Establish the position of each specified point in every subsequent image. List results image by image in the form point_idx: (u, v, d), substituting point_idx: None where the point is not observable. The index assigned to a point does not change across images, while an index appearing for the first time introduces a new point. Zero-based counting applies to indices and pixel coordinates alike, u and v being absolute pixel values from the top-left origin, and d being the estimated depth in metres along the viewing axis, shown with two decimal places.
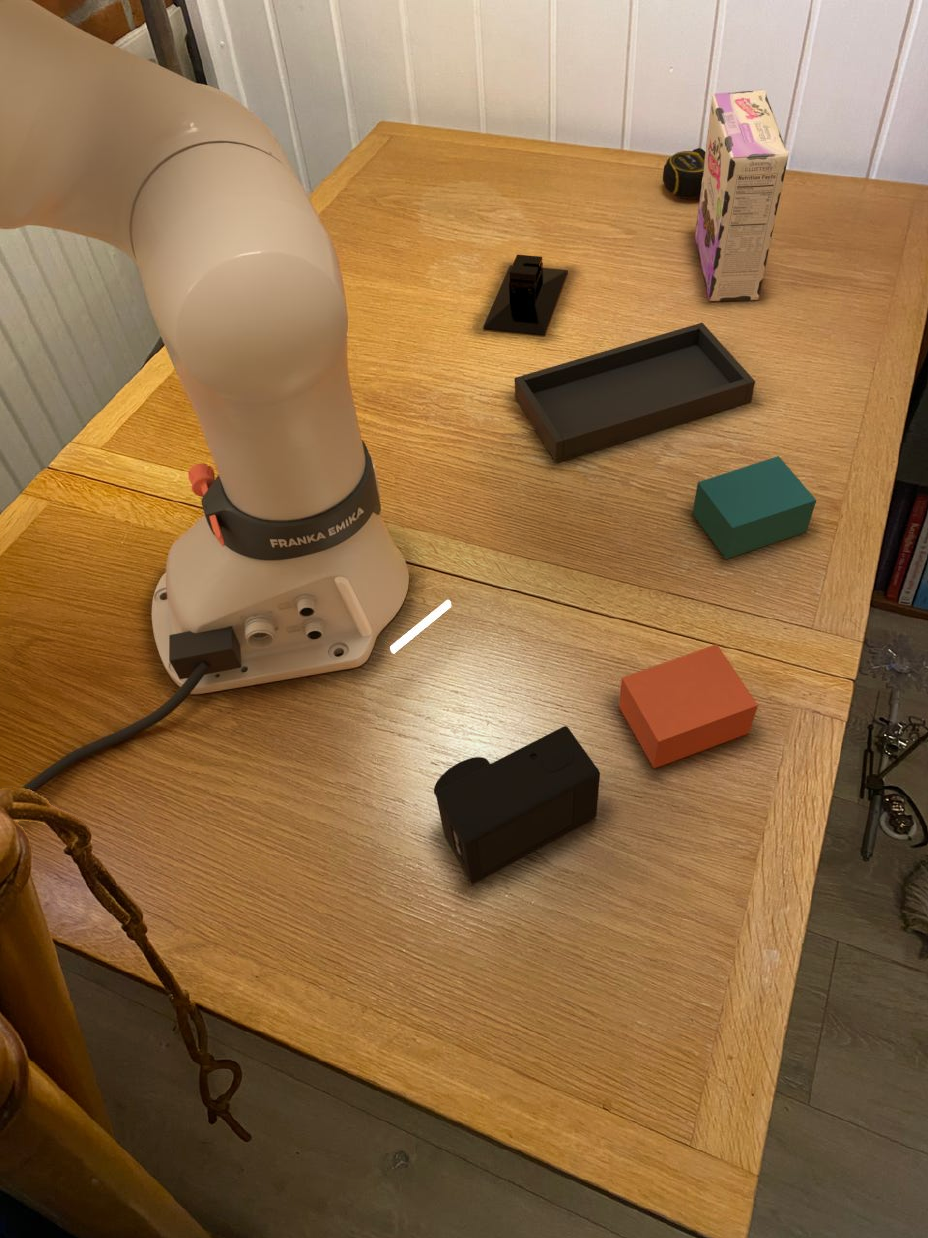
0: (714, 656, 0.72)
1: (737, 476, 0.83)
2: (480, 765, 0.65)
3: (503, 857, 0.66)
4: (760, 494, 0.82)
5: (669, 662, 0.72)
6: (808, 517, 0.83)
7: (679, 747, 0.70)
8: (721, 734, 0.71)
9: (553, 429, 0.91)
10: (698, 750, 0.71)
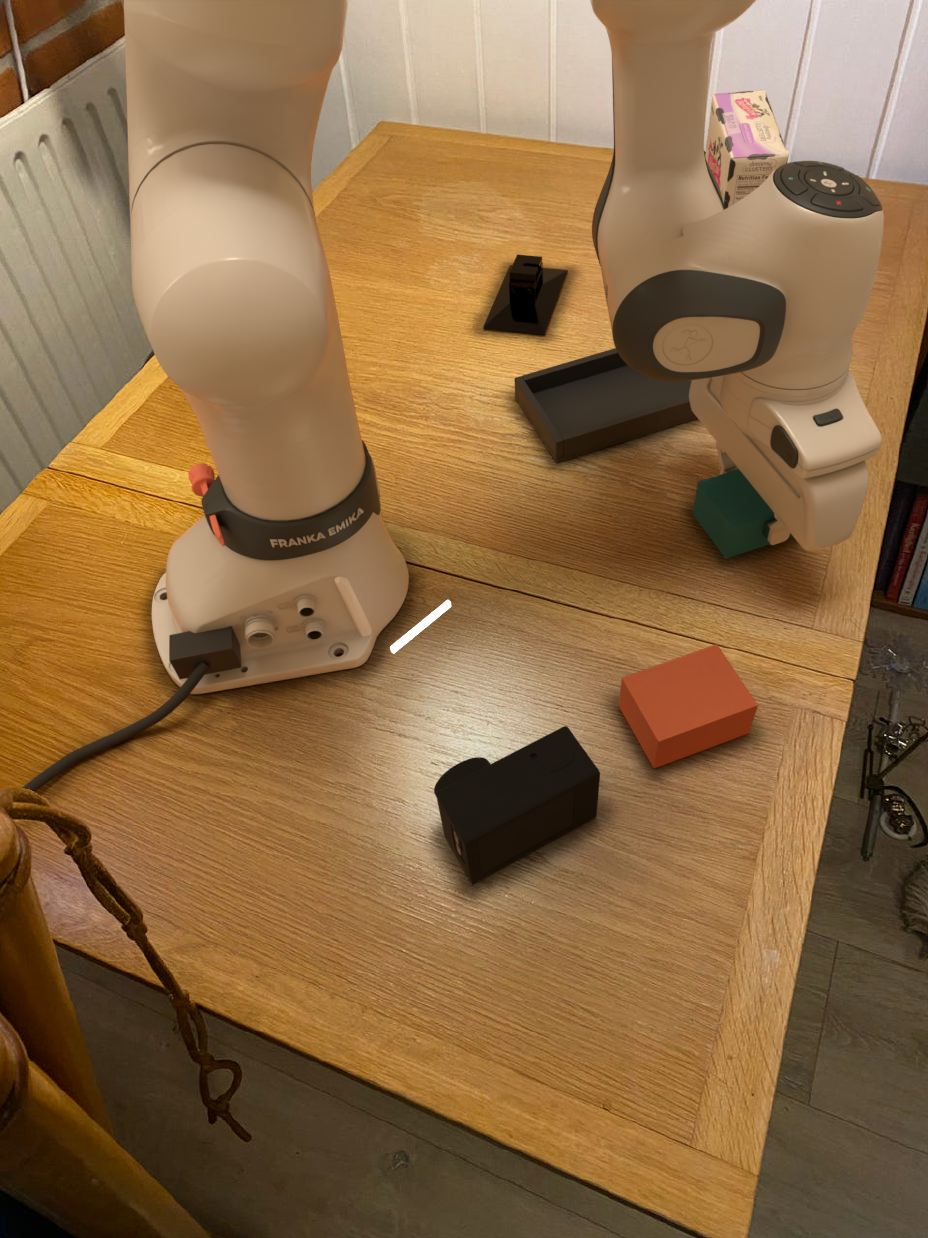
0: (714, 656, 0.72)
1: (737, 476, 0.83)
2: (480, 765, 0.65)
3: (503, 857, 0.66)
4: None
5: (669, 662, 0.72)
6: None
7: (679, 747, 0.70)
8: (721, 734, 0.71)
9: (553, 429, 0.91)
10: (698, 750, 0.71)
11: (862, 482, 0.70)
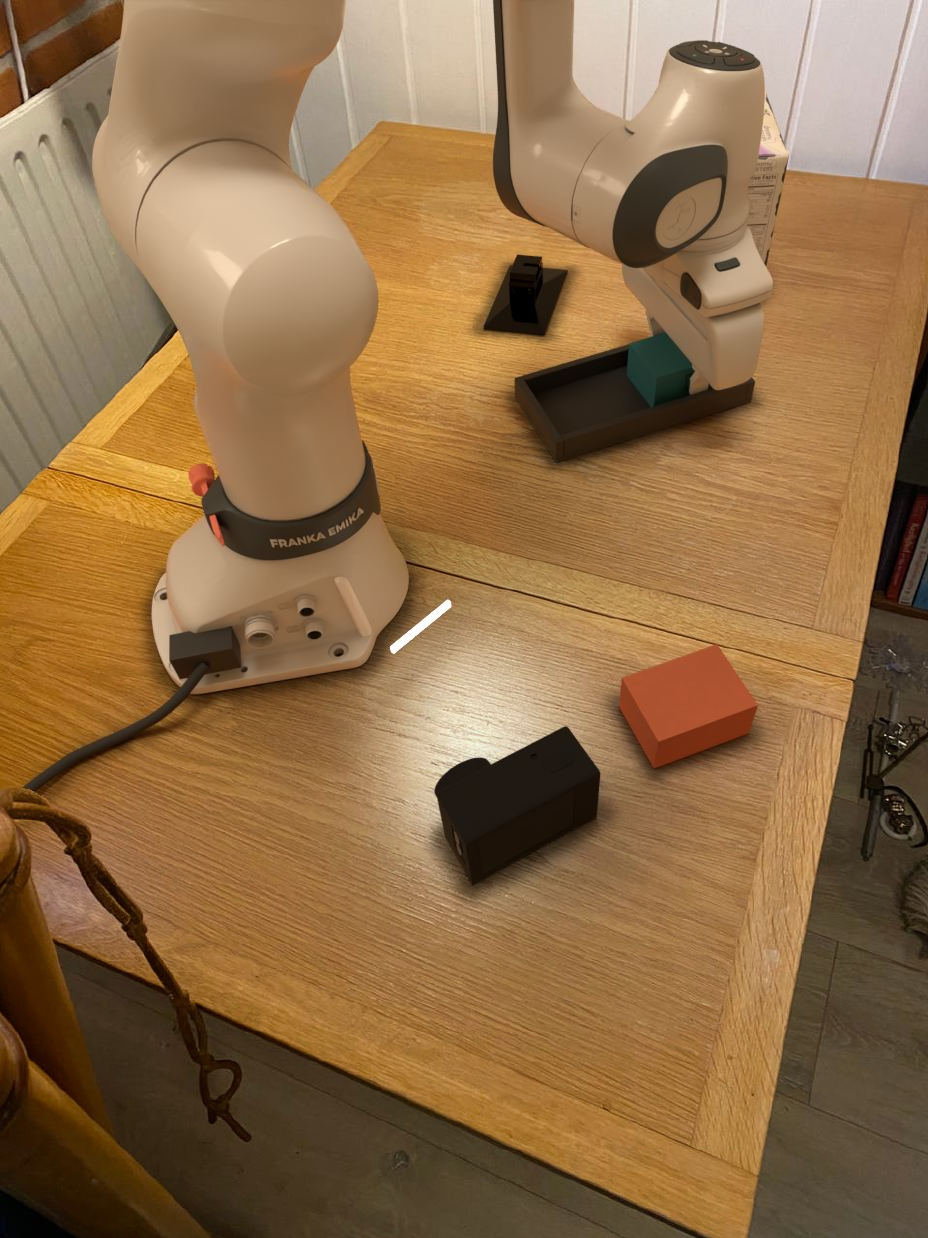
0: (714, 656, 0.72)
1: (664, 338, 0.95)
2: (480, 765, 0.65)
3: (503, 857, 0.66)
4: None
5: (669, 662, 0.72)
6: None
7: (679, 747, 0.70)
8: (721, 734, 0.71)
9: (553, 429, 0.91)
10: (698, 750, 0.71)
11: (758, 322, 0.82)
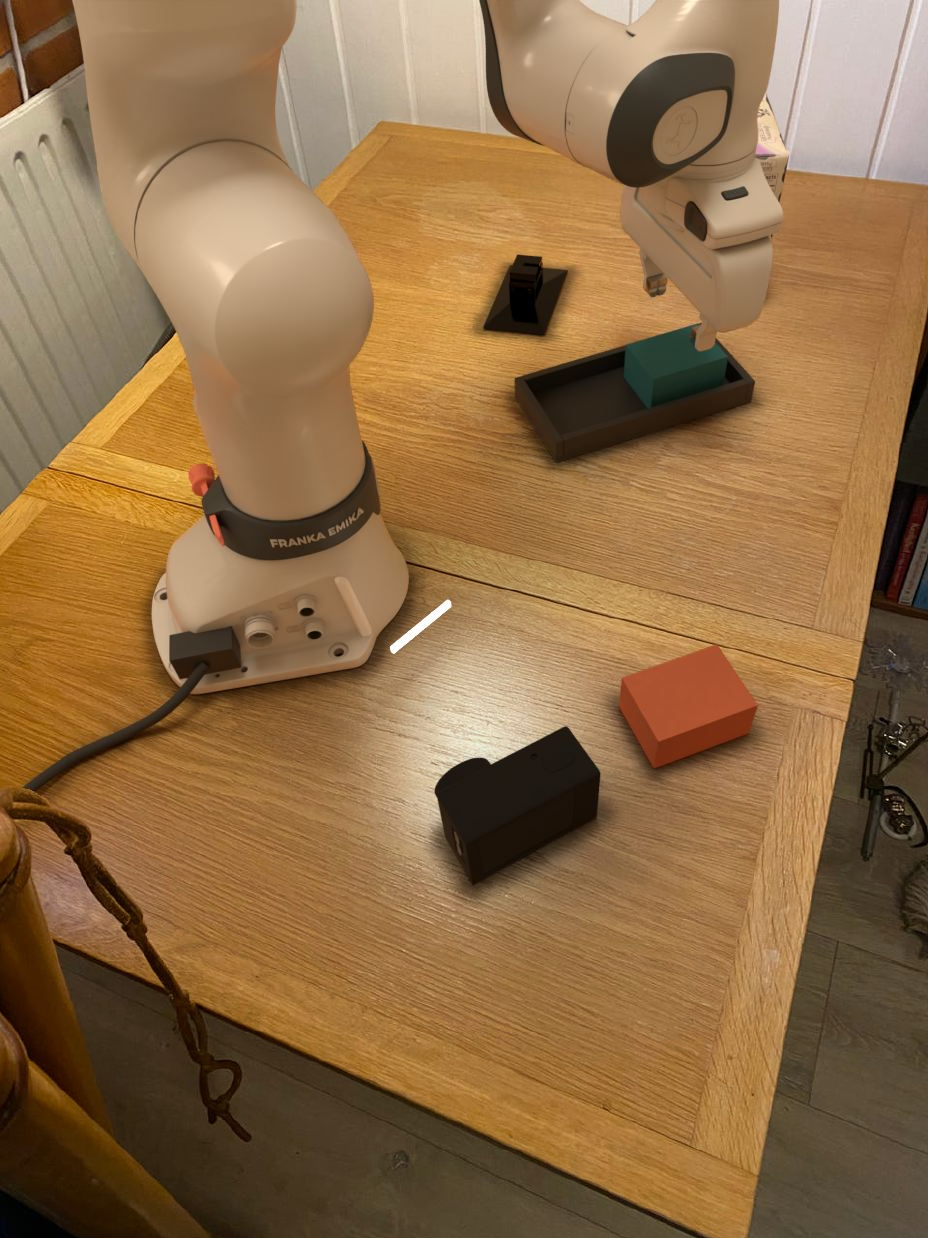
0: (714, 656, 0.72)
1: (660, 339, 0.95)
2: (481, 765, 0.65)
3: (503, 857, 0.66)
4: (679, 353, 0.93)
5: (669, 662, 0.72)
6: (722, 374, 0.94)
7: (679, 747, 0.70)
8: (721, 734, 0.71)
9: (553, 429, 0.91)
10: (698, 750, 0.71)
11: (767, 257, 0.77)
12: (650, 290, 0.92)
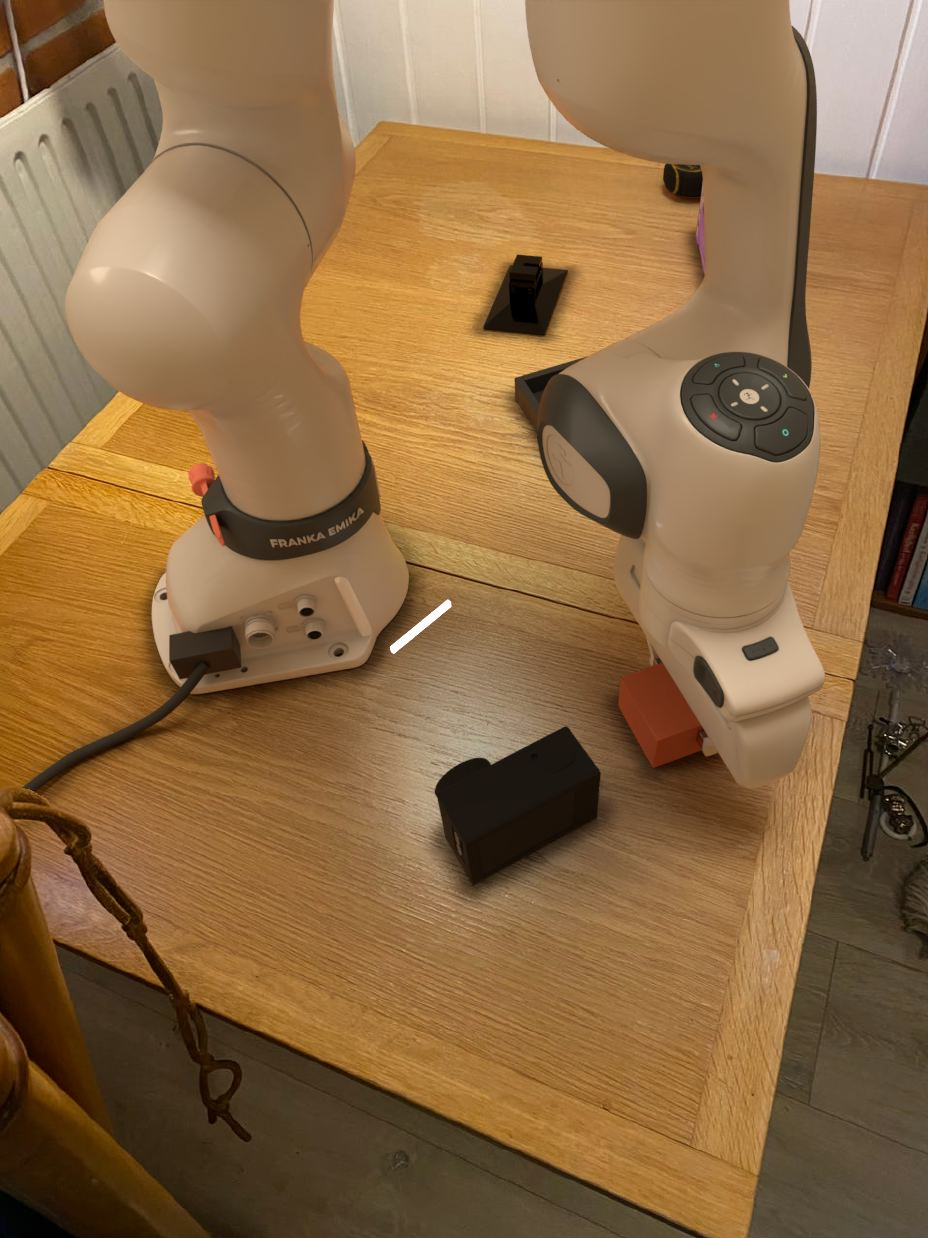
0: None
1: None
2: (481, 766, 0.65)
3: (504, 857, 0.66)
4: None
5: None
6: None
7: (678, 747, 0.70)
8: None
9: None
10: (697, 750, 0.71)
11: (803, 721, 0.58)
12: None
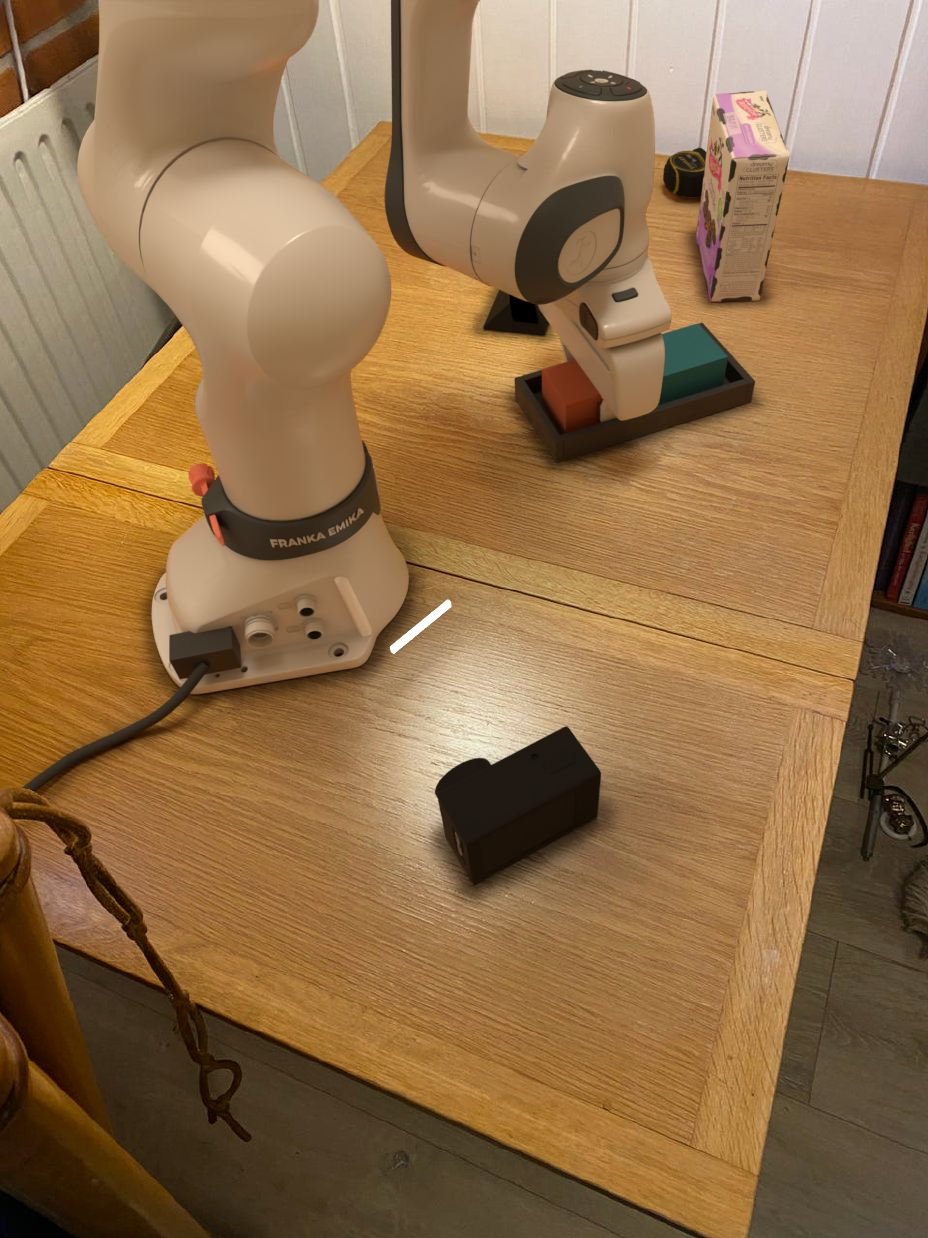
0: None
1: None
2: (481, 766, 0.65)
3: (504, 858, 0.66)
4: (679, 353, 0.93)
5: None
6: (722, 374, 0.94)
7: (583, 416, 0.92)
8: None
9: (553, 429, 0.91)
10: None
11: (658, 353, 0.80)
12: None
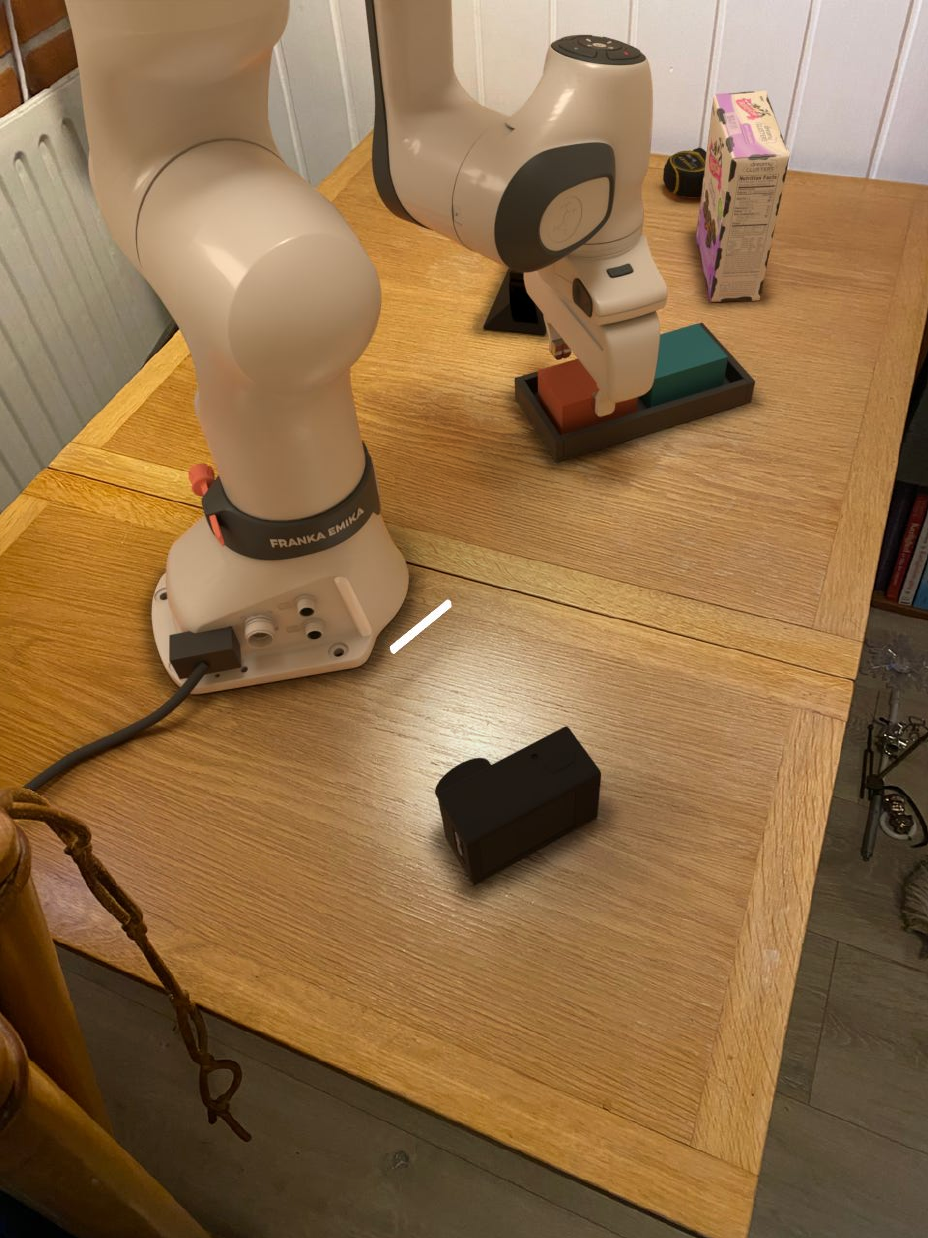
0: None
1: (660, 339, 0.95)
2: (481, 766, 0.65)
3: (504, 858, 0.66)
4: (679, 353, 0.93)
5: (574, 359, 0.94)
6: (722, 374, 0.94)
7: (580, 417, 0.92)
8: None
9: (553, 429, 0.91)
10: None
11: (654, 332, 0.78)
12: (555, 353, 0.93)
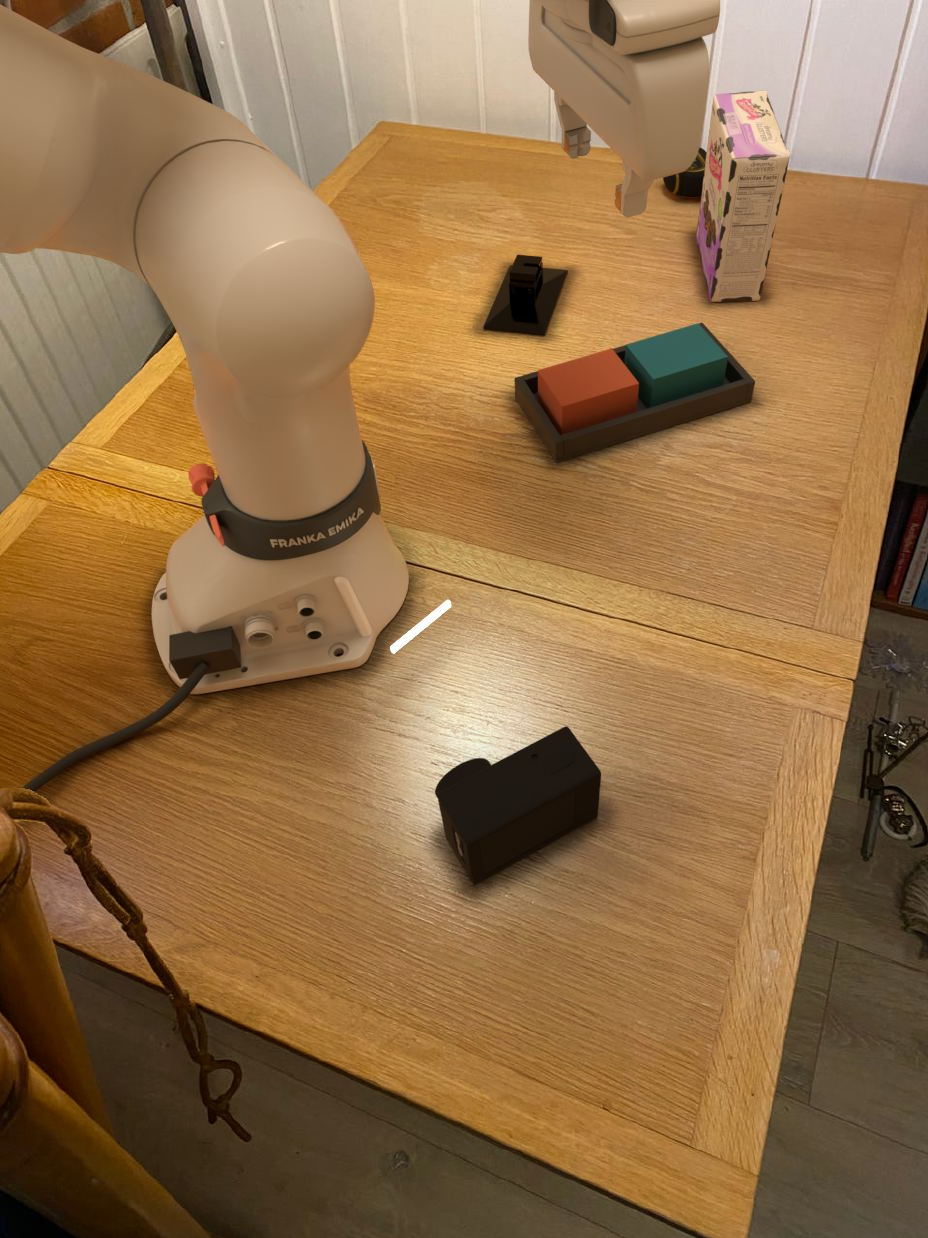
0: (609, 355, 0.94)
1: (660, 339, 0.95)
2: (481, 766, 0.65)
3: (504, 858, 0.66)
4: (679, 353, 0.93)
5: (574, 359, 0.94)
6: (722, 374, 0.94)
7: (580, 417, 0.92)
8: (613, 410, 0.93)
9: (553, 429, 0.91)
10: None
11: (701, 68, 0.57)
12: (569, 148, 0.73)
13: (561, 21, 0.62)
